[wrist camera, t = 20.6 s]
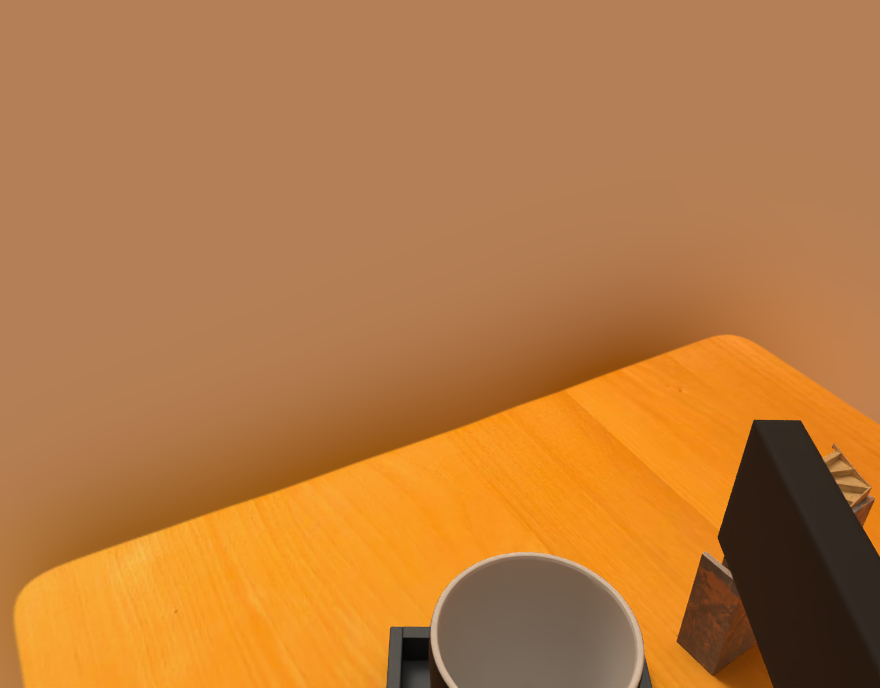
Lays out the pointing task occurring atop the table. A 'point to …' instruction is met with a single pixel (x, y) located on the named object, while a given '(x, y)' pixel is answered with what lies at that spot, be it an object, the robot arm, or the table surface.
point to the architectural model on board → (716, 597)
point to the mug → (533, 628)
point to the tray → (425, 659)
